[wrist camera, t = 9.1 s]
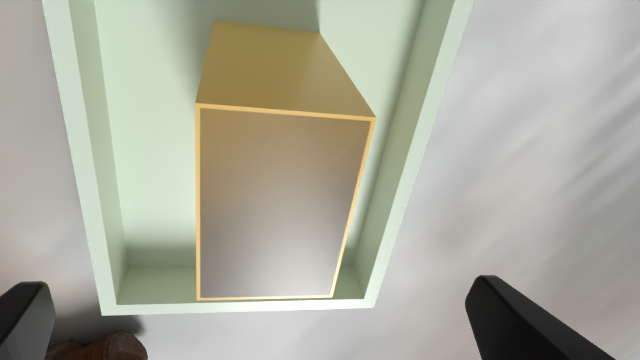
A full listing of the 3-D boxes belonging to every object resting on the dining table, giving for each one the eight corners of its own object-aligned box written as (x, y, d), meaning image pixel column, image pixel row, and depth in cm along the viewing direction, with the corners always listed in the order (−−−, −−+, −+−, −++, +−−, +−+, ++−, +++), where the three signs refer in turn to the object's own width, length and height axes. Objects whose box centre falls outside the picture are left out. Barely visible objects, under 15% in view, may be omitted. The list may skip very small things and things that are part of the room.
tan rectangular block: (319, 32, 16) (376, 117, 9) (300, 164, 19) (332, 297, 12) (214, 19, 15) (195, 103, 8) (212, 159, 18) (196, 300, 12)
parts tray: (483, -172, 14) (536, -190, 11) (359, 267, 24) (373, 307, 22) (35, -288, 11) (-25, -347, 8) (117, 269, 21) (101, 315, 19)
